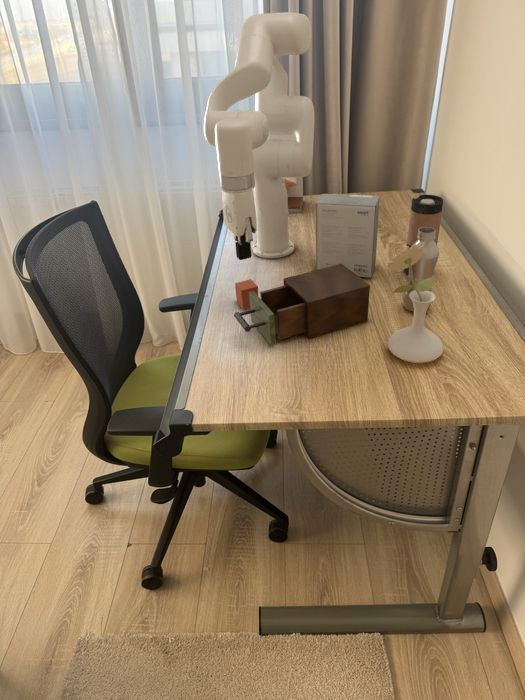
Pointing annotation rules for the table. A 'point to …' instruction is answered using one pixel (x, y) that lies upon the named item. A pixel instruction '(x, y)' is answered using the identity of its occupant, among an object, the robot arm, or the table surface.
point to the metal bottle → (422, 263)
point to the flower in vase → (415, 314)
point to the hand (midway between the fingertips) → (244, 257)
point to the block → (245, 292)
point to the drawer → (276, 313)
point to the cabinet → (331, 298)
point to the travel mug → (424, 217)
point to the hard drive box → (347, 232)
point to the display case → (291, 181)
